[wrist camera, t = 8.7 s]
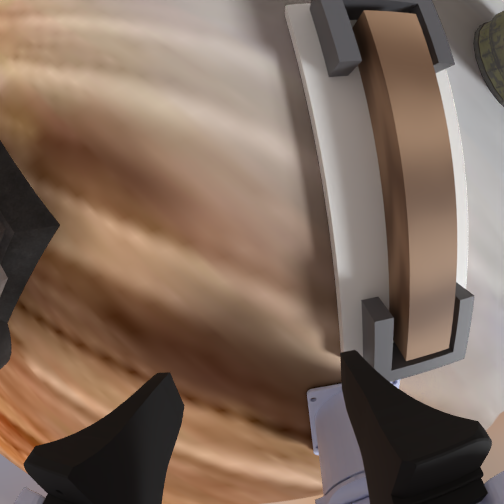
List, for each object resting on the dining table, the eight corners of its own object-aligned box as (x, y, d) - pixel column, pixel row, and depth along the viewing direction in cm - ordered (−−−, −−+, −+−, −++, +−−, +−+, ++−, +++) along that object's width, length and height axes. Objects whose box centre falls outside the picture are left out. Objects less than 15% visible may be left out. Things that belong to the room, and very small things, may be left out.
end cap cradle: (451, 329, 21) (477, 358, 17) (341, 357, 22) (353, 395, 18) (416, 15, 14) (443, -10, 10) (284, 15, 15) (287, -19, 11)
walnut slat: (427, 323, 19) (448, 348, 16) (388, 333, 20) (406, 361, 16) (394, 34, 14) (415, 14, 11) (348, 33, 14) (363, 10, 11)
